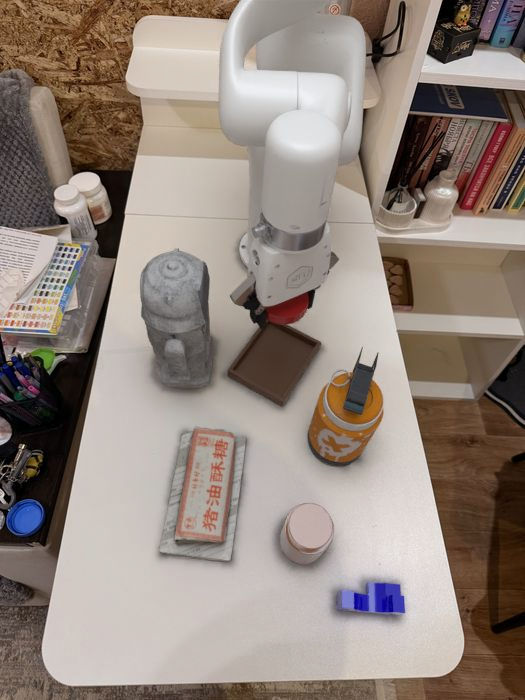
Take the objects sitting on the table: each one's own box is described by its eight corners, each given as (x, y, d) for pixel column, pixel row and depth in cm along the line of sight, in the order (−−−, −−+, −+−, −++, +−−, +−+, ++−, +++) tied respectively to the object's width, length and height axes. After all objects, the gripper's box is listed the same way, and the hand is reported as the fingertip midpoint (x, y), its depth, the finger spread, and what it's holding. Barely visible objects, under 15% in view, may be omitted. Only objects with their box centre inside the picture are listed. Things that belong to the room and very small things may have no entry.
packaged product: (180, 420, 76) (247, 428, 76) (183, 432, 80) (246, 440, 80) (155, 548, 66) (230, 557, 66) (159, 554, 71) (231, 562, 71)
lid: (308, 326, 71) (310, 318, 69) (256, 324, 71) (257, 316, 69) (306, 285, 75) (308, 277, 73) (257, 283, 74) (258, 275, 73)
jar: (293, 508, 75) (300, 490, 66) (332, 532, 73) (344, 516, 65) (271, 548, 72) (276, 534, 64) (311, 573, 70) (321, 562, 62)
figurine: (216, 327, 90) (210, 225, 69) (210, 399, 83) (201, 311, 62) (161, 324, 90) (137, 221, 69) (150, 397, 83) (120, 307, 61)
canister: (299, 455, 79) (317, 399, 62) (320, 395, 84) (341, 328, 67) (355, 475, 78) (389, 424, 60) (372, 413, 83) (408, 350, 66)
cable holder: (395, 586, 70) (403, 583, 66) (396, 615, 68) (405, 613, 65) (337, 581, 70) (342, 577, 66) (336, 609, 68) (342, 607, 65)
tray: (267, 321, 92) (268, 314, 90) (319, 348, 89) (321, 342, 87) (227, 376, 85) (227, 370, 84) (282, 407, 83) (283, 401, 81)
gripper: (241, 270, 55) (240, 354, 70) (373, 218, 60) (345, 308, 75) (211, 224, 58) (216, 315, 73) (338, 179, 63) (318, 272, 78)
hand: (281, 310), depth 74 cm, fingers closed on lid, 7 cm apart
